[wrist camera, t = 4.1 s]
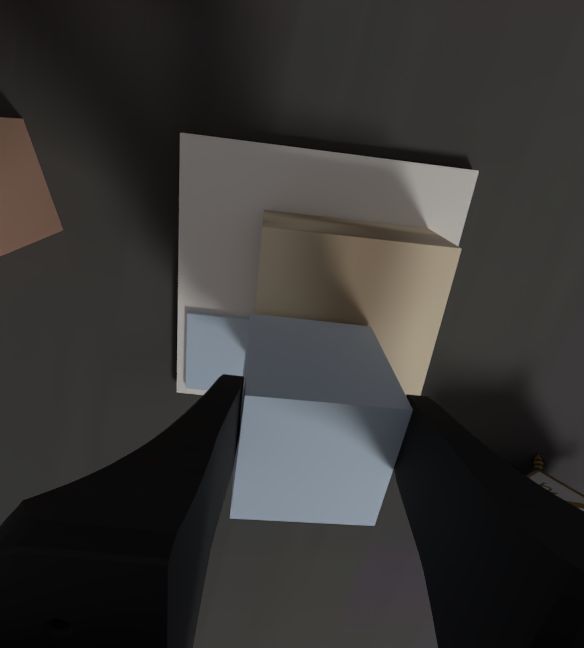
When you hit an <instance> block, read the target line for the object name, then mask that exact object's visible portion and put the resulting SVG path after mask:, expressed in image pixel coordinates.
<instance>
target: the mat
mask: <svg viewBox="0 0 584 648" xmlns="http://www.w3.org/2000/svg"><path fill="white" fill-rule="evenodd" d="M478 173H479V171H477V170H470V169H462V168H455V167H447V166H439V165H431V164H423V163H416V162H408V161H400V160H392V159H384V158H377V157H369V156H361V155H353V154H345V153H338V152H330V151H322V150H314V149H306V148H299V147H291V146H283V145H275V144H267V143H259V142H252V141H244V140H236V139H228V138H220V137H213V136H205V135H197V134H189V133H180V173H179V252H178V331H177V392H178V393H188V394H197V395H204V394H205V393H206V392H207V391H208V390H209V388H210V387H211V386H212V385H213V384H214V383H215V381H216V380H217V379H218V378H219V377H220V376H221V375H223V374H227V375H236V376H243V369H244V361H245V352H246V343H247V335H248V326H249V318H250V313H252V314H254V313H255V302H256V291H257V280H258V269H259V258H260V247H261V236H262V225H263V214H264V210H271V211H280V212H288V213H297V214H306V215H315V216H324V217H332V218H341V219H350V220H359V221H368V222H376V223H385V224H394V225H403V226H412V227H420V228H428V229H430V230H432V231H433V232H435V233H437V234H438V235H440V236H442V237H443V238H445V239H447V240H448V241H450V242H452V243H453V244H455V245H457V246H458V245H459V241H460V238H461V234H462V230H463V227H464V223H465V220H466V216H467V212H468V209H469V205H470V201H471V198H472V194H473V191H474V187H475V183H476V180H477V176H478Z"/></svg>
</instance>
